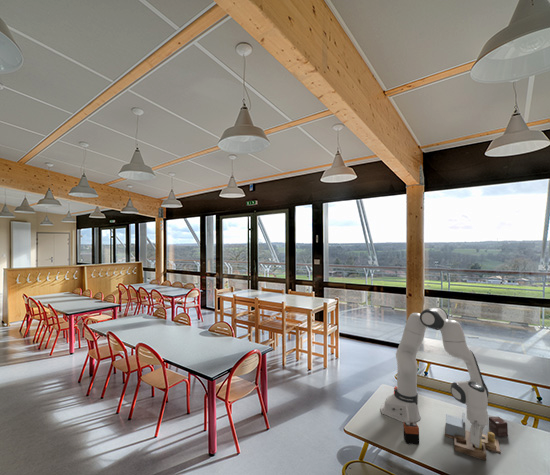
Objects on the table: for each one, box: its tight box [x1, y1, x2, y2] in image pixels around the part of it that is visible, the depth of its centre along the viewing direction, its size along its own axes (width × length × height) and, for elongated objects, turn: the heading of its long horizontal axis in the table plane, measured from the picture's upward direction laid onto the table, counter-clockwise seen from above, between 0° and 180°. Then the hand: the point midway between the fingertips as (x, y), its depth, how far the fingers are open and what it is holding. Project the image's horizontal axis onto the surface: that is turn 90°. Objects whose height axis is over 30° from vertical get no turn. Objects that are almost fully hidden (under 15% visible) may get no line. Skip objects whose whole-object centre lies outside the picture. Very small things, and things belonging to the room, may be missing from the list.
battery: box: [402, 422, 420, 446], centre depth 151 cm, size 4×7×10 cm, turn 81°
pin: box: [474, 437, 482, 450], centre depth 142 cm, size 3×3×7 cm
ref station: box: [444, 424, 501, 454], centre depth 152 cm, size 24×10×6 cm, turn 57°
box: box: [488, 416, 509, 438], centre depth 156 cm, size 6×6×7 cm
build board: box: [453, 434, 487, 461], centre depth 144 cm, size 13×9×3 cm
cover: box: [445, 413, 466, 437], centre depth 156 cm, size 9×9×9 cm
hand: (477, 444), depth 143 cm, fingers open, 3 cm apart
